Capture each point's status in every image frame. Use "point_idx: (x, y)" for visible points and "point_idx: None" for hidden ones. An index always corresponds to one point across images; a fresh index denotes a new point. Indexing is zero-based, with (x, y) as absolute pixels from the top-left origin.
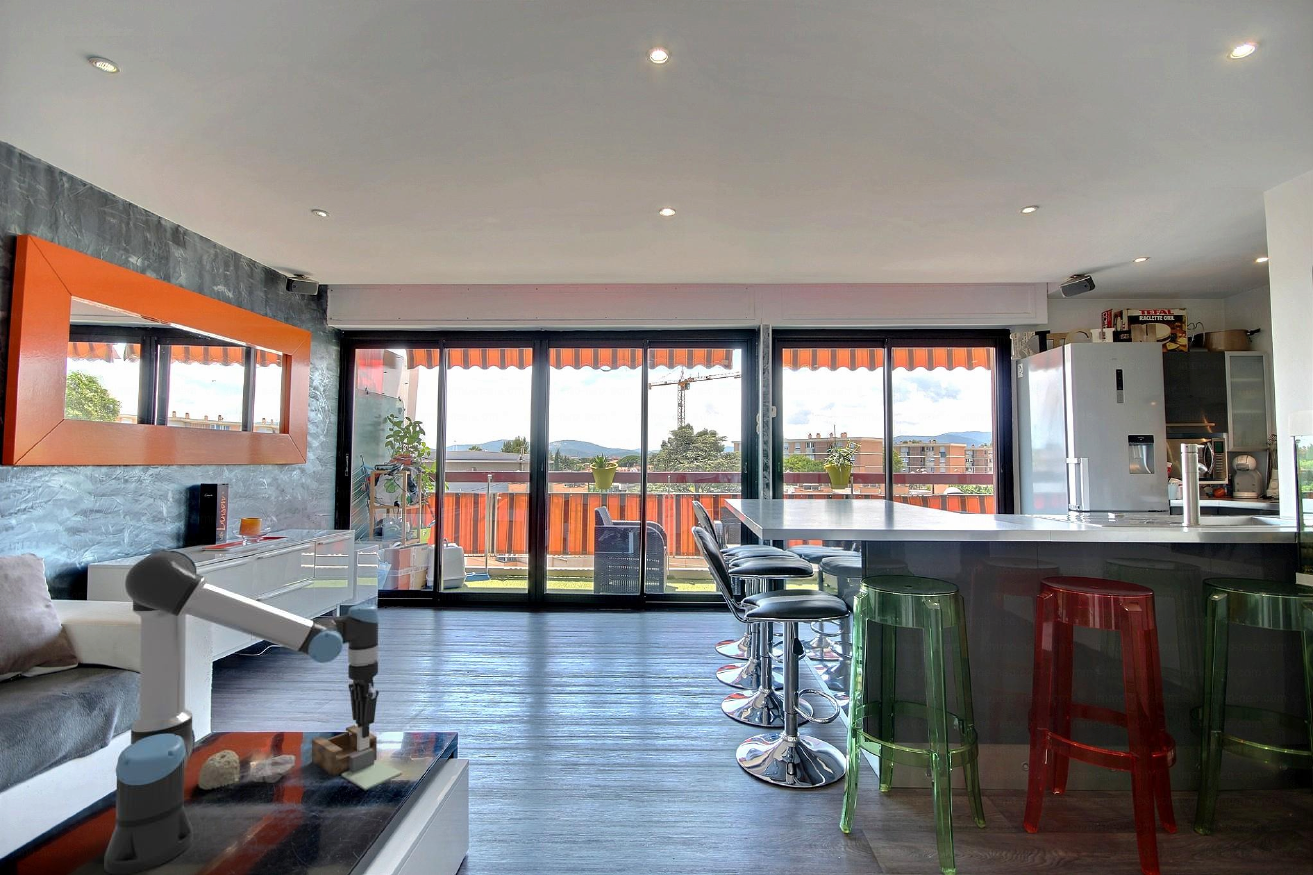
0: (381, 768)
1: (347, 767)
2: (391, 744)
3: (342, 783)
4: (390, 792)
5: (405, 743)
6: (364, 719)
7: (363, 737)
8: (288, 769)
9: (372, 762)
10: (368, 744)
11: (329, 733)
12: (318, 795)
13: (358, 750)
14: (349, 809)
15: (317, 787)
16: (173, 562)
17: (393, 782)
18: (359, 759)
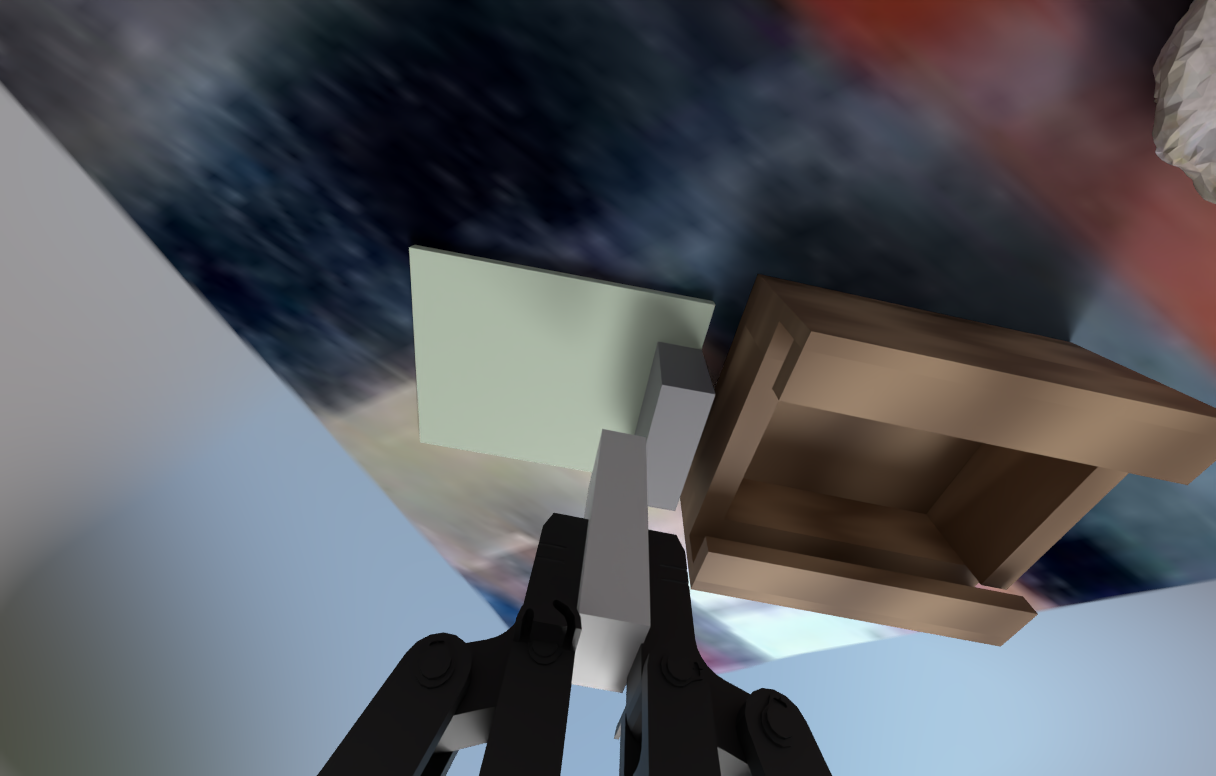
0: (550, 431)
1: (732, 362)
2: None
3: (620, 237)
4: (275, 289)
5: None
6: (401, 742)
7: (561, 518)
8: (1177, 66)
9: None
10: (587, 498)
11: (1183, 579)
12: (626, 29)
13: (742, 473)
14: (235, 4)
15: (740, 114)
16: None
17: (374, 367)
18: (650, 410)
